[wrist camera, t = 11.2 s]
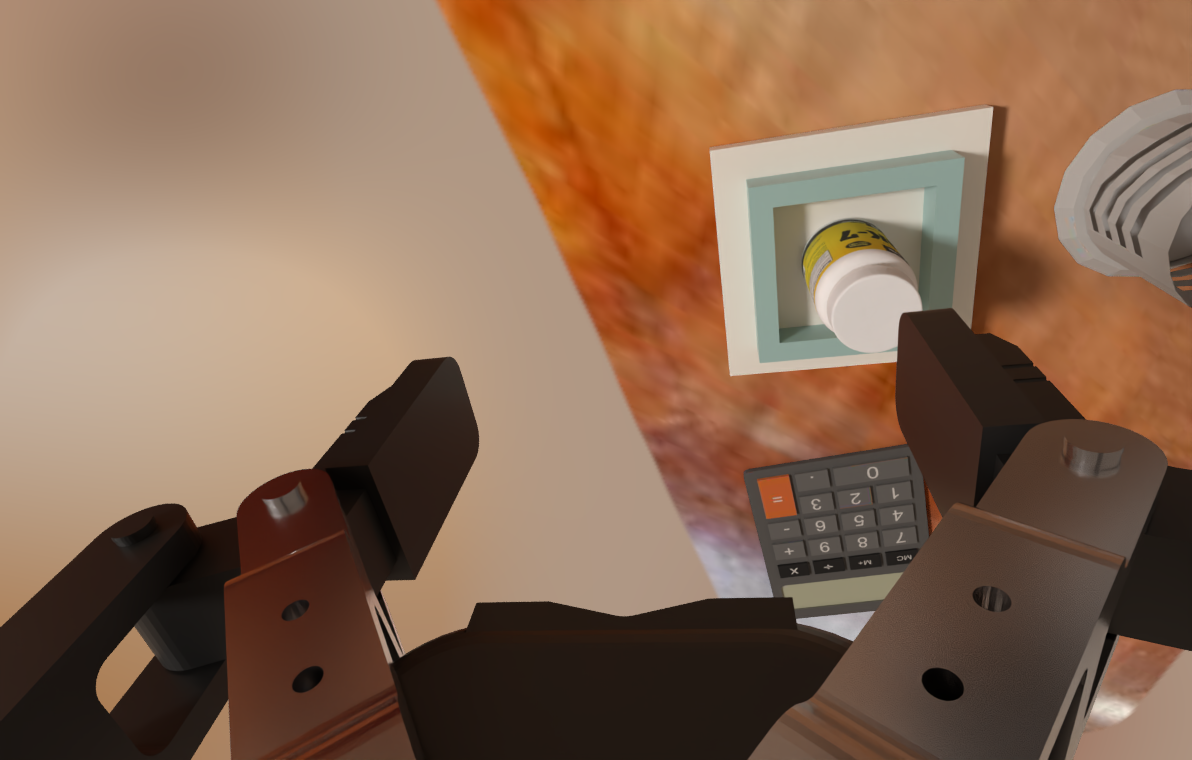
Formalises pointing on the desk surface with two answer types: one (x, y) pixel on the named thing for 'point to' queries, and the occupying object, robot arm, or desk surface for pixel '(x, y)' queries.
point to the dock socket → (838, 191)
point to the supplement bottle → (859, 284)
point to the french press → (1134, 195)
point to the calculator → (839, 527)
